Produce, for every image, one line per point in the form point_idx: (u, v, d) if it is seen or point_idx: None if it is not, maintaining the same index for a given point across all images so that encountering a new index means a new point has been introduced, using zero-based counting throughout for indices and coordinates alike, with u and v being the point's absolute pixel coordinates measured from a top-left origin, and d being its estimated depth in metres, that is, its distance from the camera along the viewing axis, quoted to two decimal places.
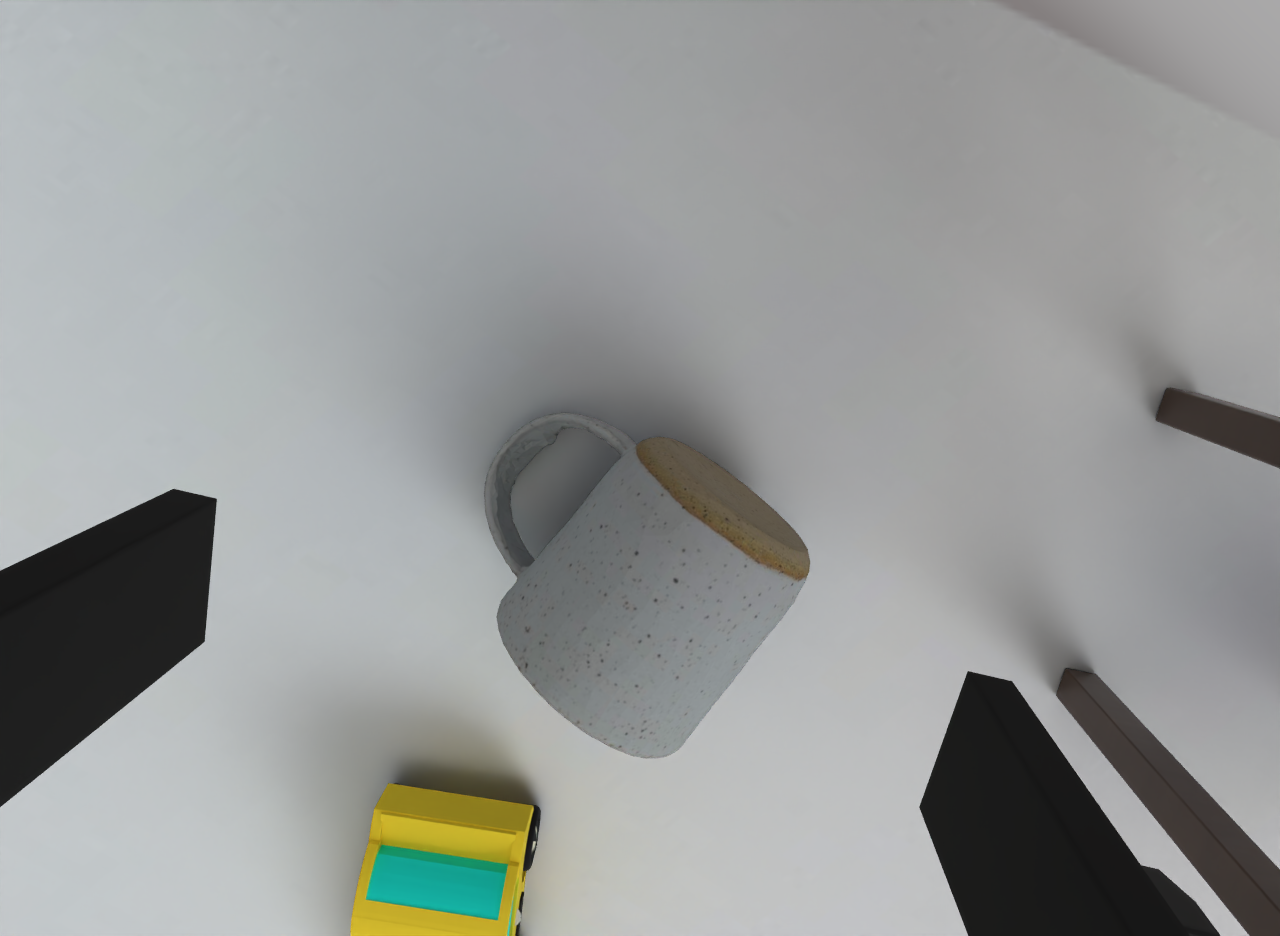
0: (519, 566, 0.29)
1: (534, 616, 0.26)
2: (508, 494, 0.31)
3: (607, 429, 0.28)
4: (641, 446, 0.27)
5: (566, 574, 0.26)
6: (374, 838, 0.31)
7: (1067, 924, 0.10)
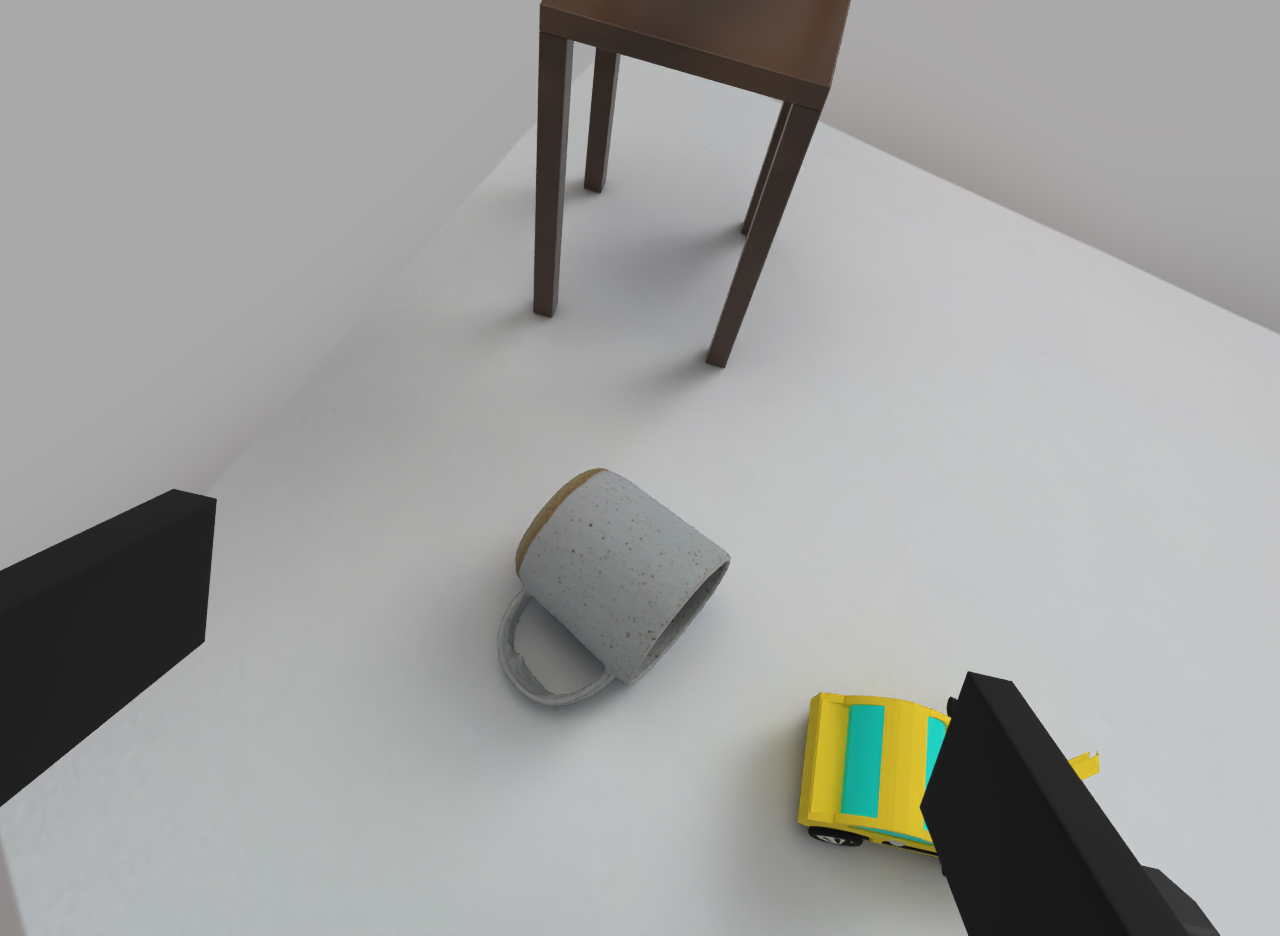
0: (603, 673, 0.40)
1: (618, 629, 0.37)
2: None
3: (510, 604, 0.41)
4: (516, 568, 0.40)
5: (590, 606, 0.38)
6: (832, 818, 0.37)
7: (1067, 924, 0.10)
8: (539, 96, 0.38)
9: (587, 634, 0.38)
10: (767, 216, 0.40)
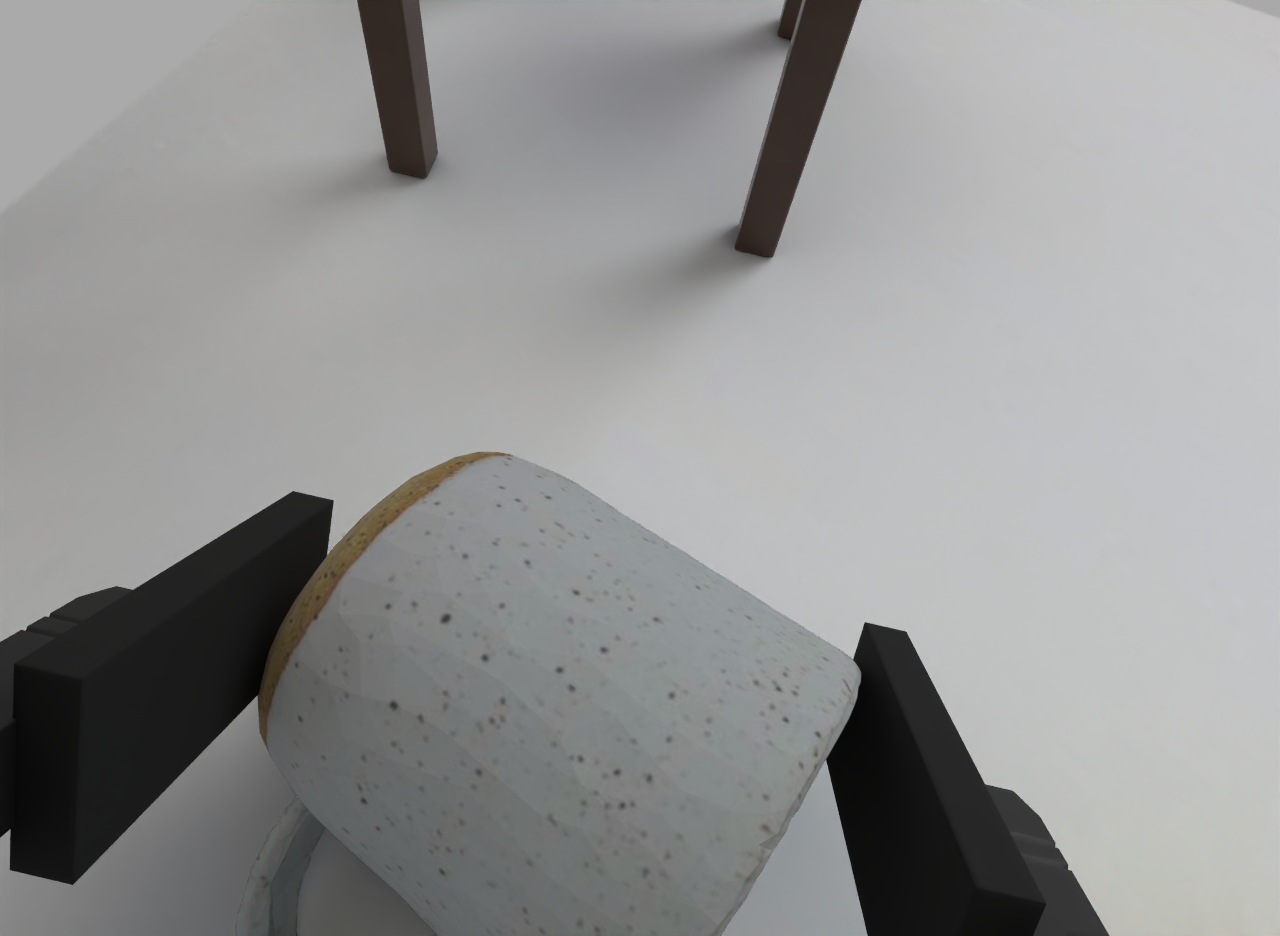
0: None
1: None
2: None
3: (269, 835, 0.15)
4: (265, 744, 0.14)
5: (459, 880, 0.12)
6: None
7: (914, 831, 0.11)
8: None
9: None
10: None
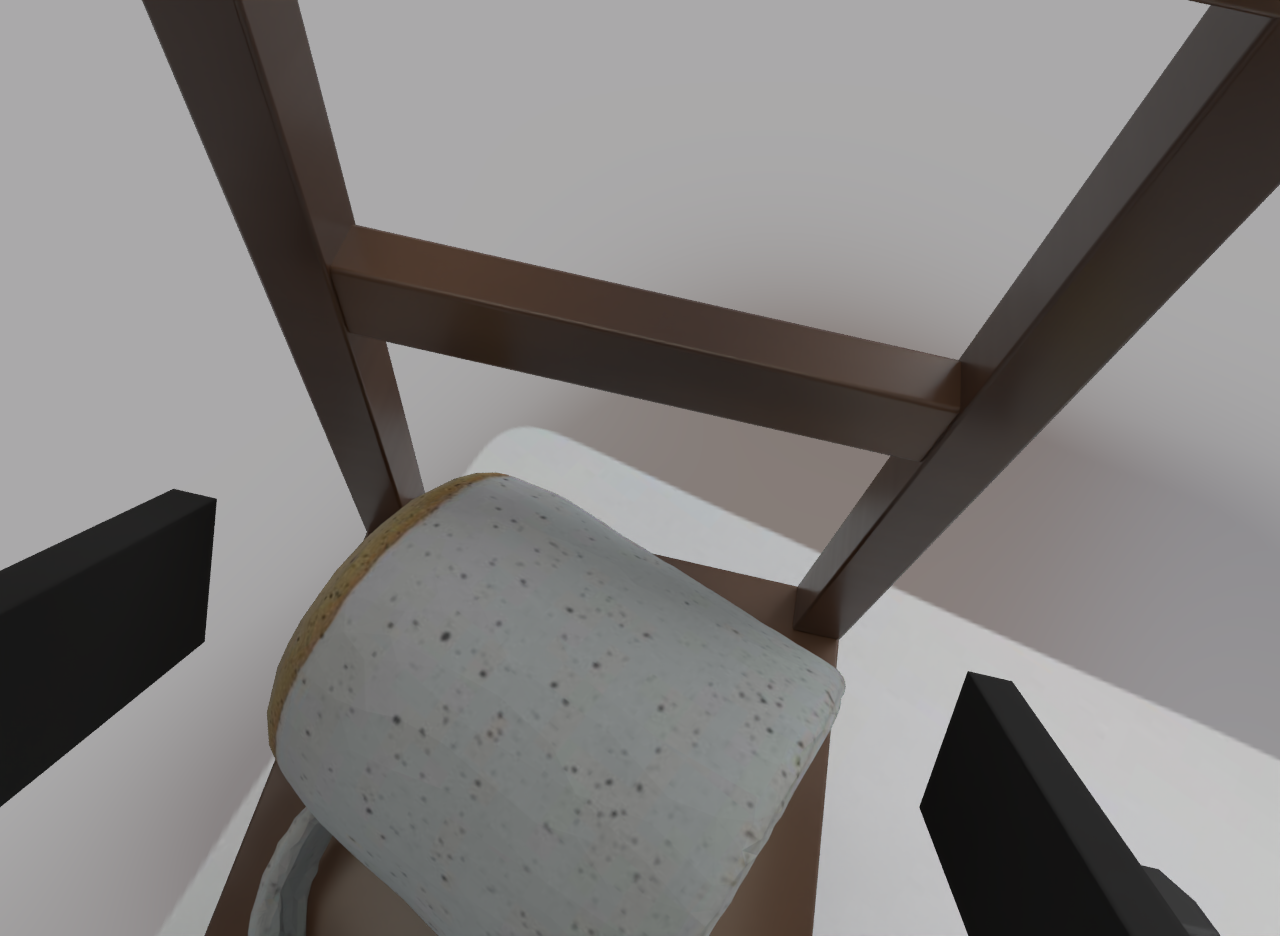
0: None
1: None
2: None
3: (278, 844, 0.16)
4: None
5: (460, 886, 0.12)
6: None
7: (1068, 924, 0.10)
8: None
9: None
10: None
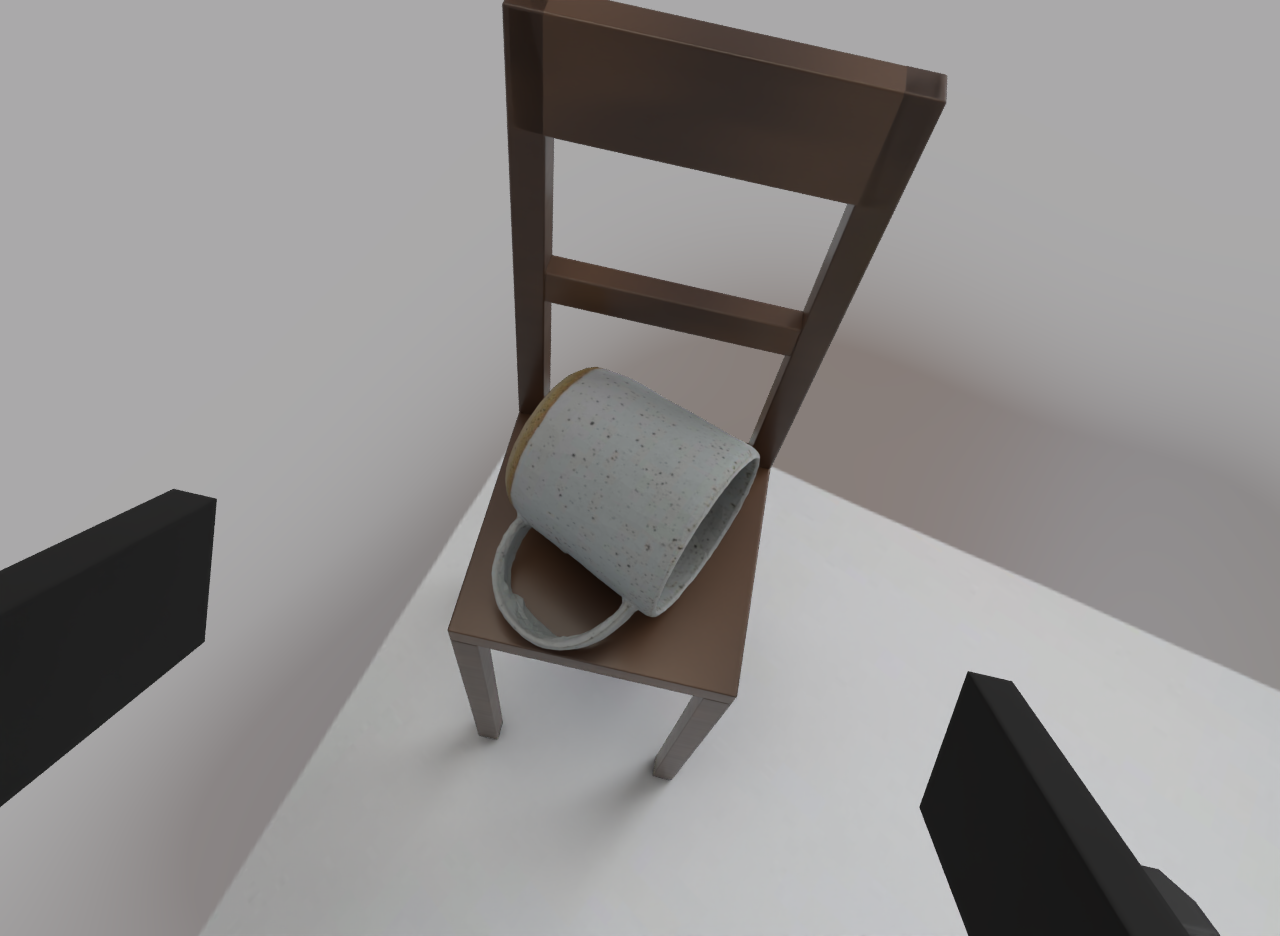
0: (621, 605, 0.33)
1: (636, 543, 0.31)
2: None
3: (503, 535, 0.35)
4: (507, 489, 0.34)
5: (600, 519, 0.31)
6: None
7: (1067, 924, 0.10)
8: (458, 662, 0.39)
9: (598, 556, 0.32)
10: (693, 733, 0.41)
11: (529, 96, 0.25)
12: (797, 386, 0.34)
